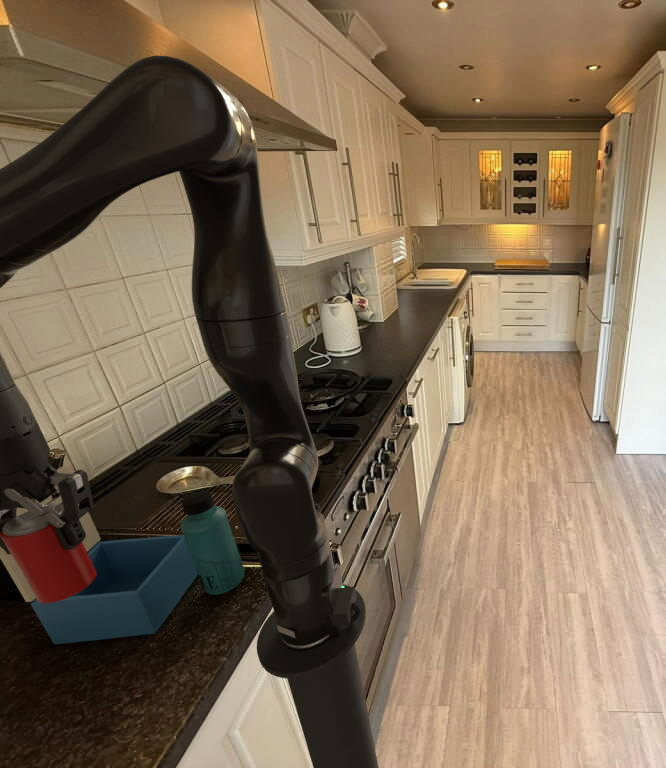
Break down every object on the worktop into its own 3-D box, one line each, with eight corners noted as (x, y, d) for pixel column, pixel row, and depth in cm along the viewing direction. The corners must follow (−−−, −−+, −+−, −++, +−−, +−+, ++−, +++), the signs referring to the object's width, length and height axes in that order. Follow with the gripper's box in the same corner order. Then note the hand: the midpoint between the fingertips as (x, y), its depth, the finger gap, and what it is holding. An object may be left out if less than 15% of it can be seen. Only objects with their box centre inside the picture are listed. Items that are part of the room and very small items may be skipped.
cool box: (201, 570, 77) (188, 534, 74) (155, 633, 65) (137, 593, 62) (116, 578, 76) (99, 541, 72) (53, 644, 64) (30, 604, 60)
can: (107, 566, 57) (77, 502, 53) (73, 600, 52) (37, 532, 48) (62, 570, 56) (28, 505, 52) (23, 605, 51) (-18, 536, 47)
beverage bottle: (254, 570, 77) (227, 482, 70) (238, 600, 71) (207, 507, 64) (216, 575, 76) (185, 486, 69) (197, 605, 70) (161, 511, 63)
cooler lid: (67, 466, 67) (24, 468, 66) (-17, 518, 55) (-70, 522, 54) (101, 539, 72) (62, 542, 71) (32, 601, 60) (-16, 606, 60)
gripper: (-135, 451, 41) (-51, 576, 48) (26, 442, 43) (86, 564, 49) (-51, 418, 48) (13, 531, 54) (85, 412, 50) (132, 522, 56)
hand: (48, 546), depth 52 cm, fingers closed on can, 5 cm apart
